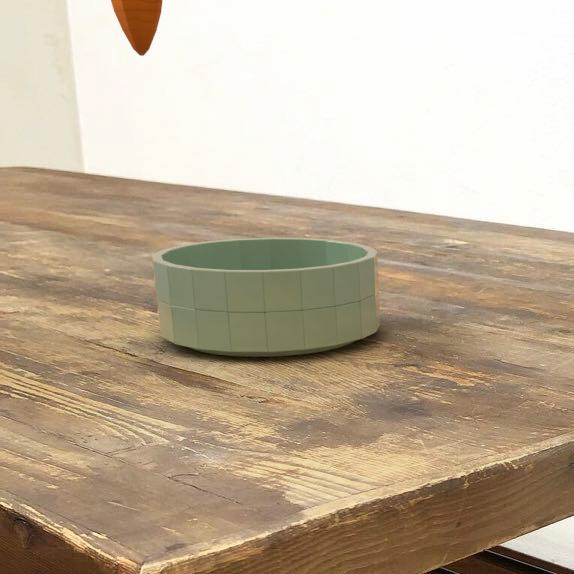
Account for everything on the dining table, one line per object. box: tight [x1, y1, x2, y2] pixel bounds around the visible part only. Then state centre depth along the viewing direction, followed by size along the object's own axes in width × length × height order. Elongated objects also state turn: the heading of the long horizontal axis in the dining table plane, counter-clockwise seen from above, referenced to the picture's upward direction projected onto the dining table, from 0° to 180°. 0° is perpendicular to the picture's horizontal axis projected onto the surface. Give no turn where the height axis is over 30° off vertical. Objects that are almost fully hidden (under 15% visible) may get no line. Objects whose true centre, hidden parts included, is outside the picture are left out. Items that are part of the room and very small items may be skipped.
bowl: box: [151, 237, 381, 358], centre depth 81 cm, size 14×14×6 cm
